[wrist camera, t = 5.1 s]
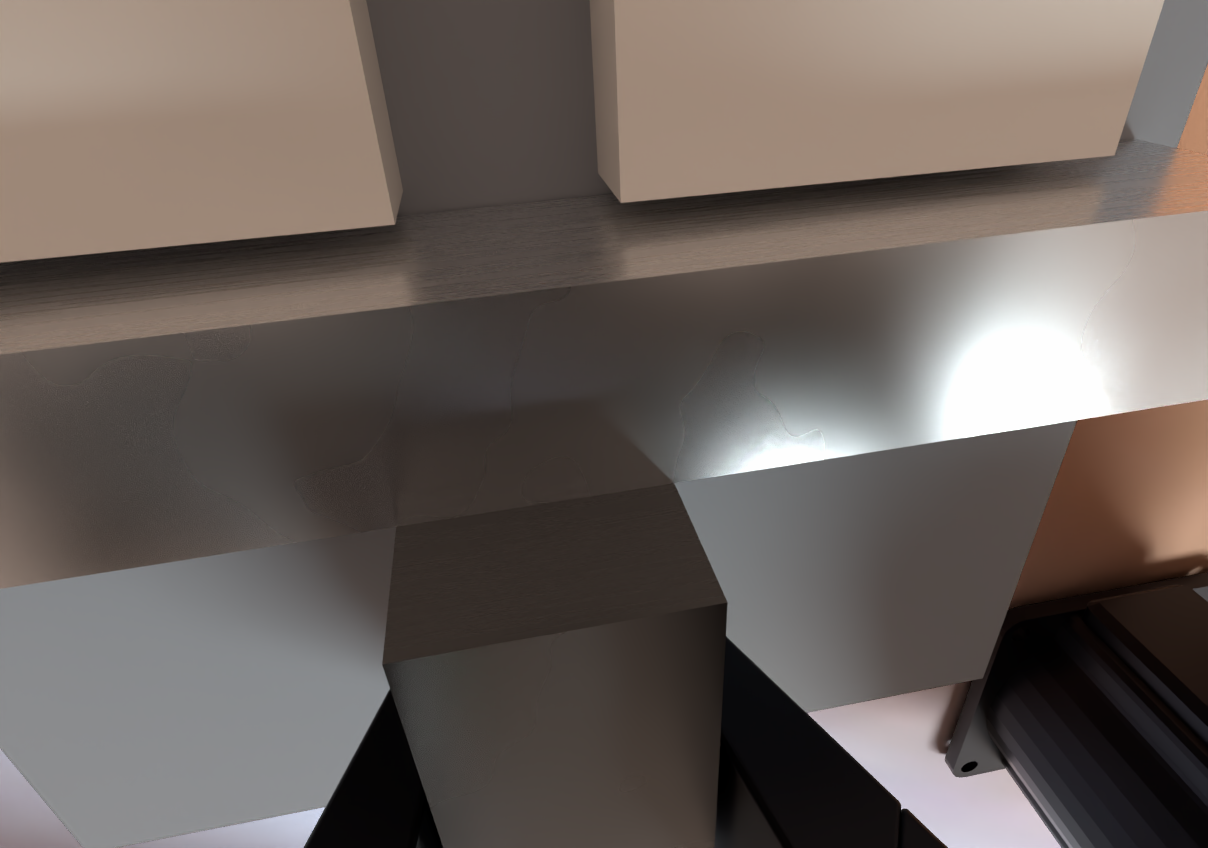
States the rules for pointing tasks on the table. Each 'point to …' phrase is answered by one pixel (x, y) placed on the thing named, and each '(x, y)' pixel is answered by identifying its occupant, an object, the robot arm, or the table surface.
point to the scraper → (574, 426)
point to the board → (364, 560)
